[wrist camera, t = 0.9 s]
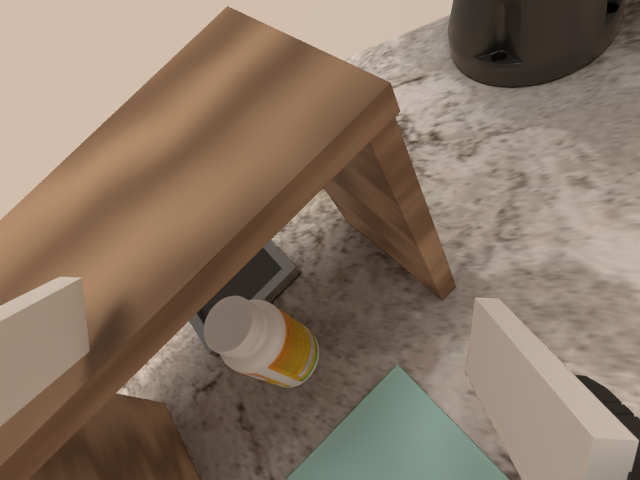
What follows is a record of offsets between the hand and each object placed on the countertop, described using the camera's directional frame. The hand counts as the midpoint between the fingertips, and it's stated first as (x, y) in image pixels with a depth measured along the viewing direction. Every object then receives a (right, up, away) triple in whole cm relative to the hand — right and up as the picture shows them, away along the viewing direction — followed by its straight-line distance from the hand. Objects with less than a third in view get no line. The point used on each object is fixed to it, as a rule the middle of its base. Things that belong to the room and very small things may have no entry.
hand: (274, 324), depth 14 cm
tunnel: (-1, -7, +22) cm, 23 cm away
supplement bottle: (-1, -7, +22) cm, 23 cm away
